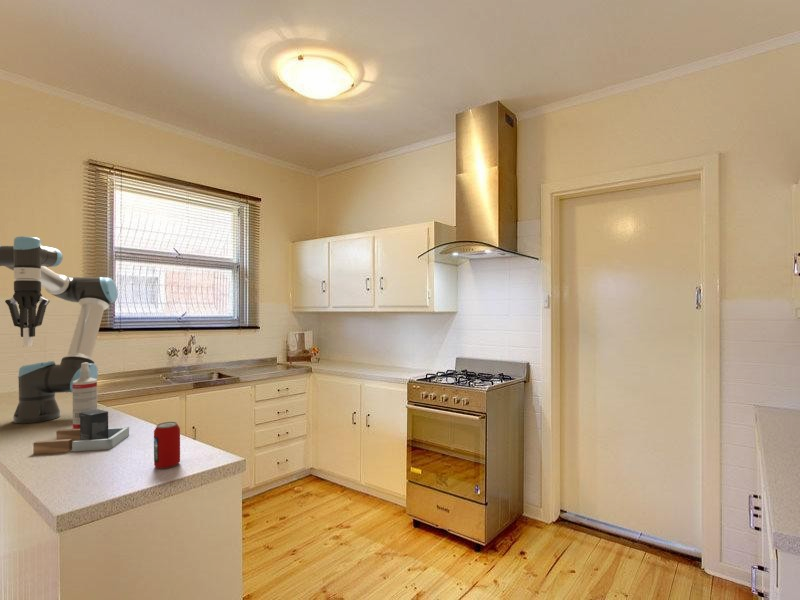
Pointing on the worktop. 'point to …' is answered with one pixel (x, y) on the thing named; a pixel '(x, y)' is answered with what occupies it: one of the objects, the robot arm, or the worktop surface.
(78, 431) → the brown bar
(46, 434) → the worktop surface
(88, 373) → the white bottle
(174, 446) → the beverage can
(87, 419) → the box
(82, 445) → the bay
